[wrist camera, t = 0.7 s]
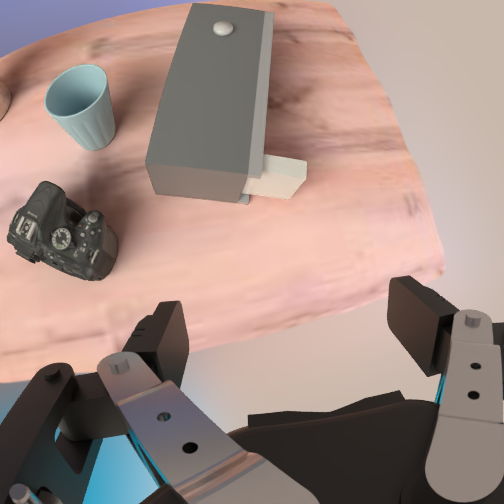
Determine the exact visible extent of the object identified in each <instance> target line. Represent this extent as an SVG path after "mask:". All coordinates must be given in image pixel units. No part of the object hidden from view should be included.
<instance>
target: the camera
mask: <svg viewBox="0 0 504 504" xmlns="http://www.w3.org/2000/svg"><path fill="white" fill-rule="evenodd" d="M7 241H8V243H10V244H12V245H13V246H14V248H15V250H17V252H16V254H17V255H19V256H21V257H23V258H24V259H26V260H28V261H30V262H32V263H34V264H35V263H36V262H40V261H42V262H44V263H46V264H48V265H49V266H51V267H53V268H55V269H57V270H59V271H62V272H64V273H66V274H68V275H71V276H74V277H78V278H80V279H83V280H86V279H87V280H88V281H95V280H96V281H100V280H102V279H104V278H105V277H106V276H107V275H108V274H109V273H110V271H111V269H112V267H113V265H114V262H115V259H116V256H117V250H118V240H117V237H116V235H115V233H114V232H113V230H112V229H111V228H110V227H109V226H107V225H106V222H105V217H104V216H103V215H102V214H101V212H99V211H96V210H95V211H89V212H88V213H87V214H86V212H85V210H84V209H83V208H82V207H81V206H79V205H78V204H76V203H75V202H73V201H72V200H70V199H68V198H67V197H66V195H65V192H64V191H63V190H62V189H61V188H60V187H59V186H57V185H56V184H53V183H51V182H48V181H43V182H41V183H40V184H39V185H38V187H37V188H36V190H35V191H34V192H33V194H32V195H31V197H30V199H29V200H28V202H27V203H26V205H25V206H23V207H22V208H20V209H19V210H18V211H16V213H15V214H14V216H13V219H12V221H11V224H10V227H9V233H8V235H7ZM35 261H36V262H35Z"/></svg>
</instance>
